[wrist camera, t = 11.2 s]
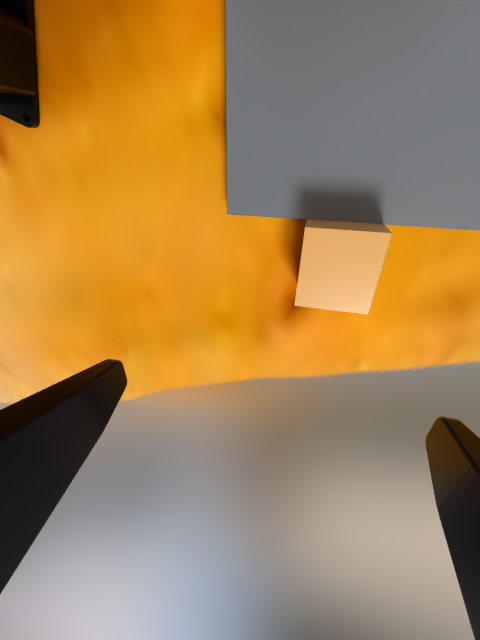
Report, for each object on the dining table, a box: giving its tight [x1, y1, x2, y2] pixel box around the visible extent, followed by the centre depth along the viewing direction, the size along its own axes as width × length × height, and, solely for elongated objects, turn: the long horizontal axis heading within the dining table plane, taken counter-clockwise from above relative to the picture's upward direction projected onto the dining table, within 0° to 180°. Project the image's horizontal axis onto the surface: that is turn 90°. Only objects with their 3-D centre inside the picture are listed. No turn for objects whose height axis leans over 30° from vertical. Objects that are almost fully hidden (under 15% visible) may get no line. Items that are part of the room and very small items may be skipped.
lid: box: [226, 0, 480, 315], centre depth 12 cm, size 13×17×3 cm
